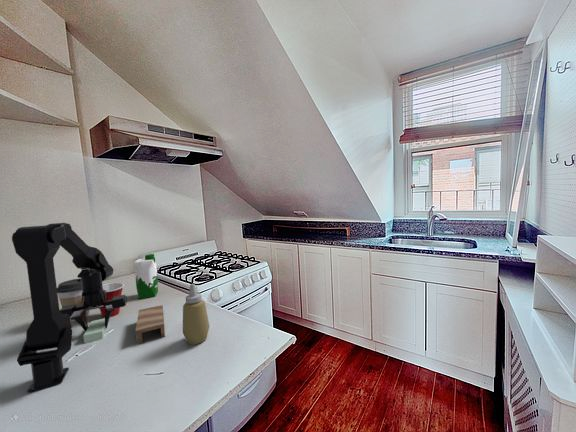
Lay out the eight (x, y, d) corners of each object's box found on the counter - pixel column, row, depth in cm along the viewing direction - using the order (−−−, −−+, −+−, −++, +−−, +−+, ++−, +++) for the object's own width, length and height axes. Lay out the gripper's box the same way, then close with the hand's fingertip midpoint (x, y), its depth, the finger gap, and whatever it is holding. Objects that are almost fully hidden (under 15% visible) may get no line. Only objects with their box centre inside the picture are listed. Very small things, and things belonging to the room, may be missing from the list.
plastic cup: (110, 321, 98) (107, 291, 97) (87, 320, 100) (84, 290, 100) (133, 309, 109) (130, 281, 108) (112, 308, 111) (109, 281, 110)
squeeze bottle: (181, 349, 76) (176, 290, 75) (185, 336, 84) (180, 282, 83) (210, 343, 78) (205, 286, 77) (210, 331, 86) (206, 278, 85)
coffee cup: (100, 314, 105) (96, 279, 104) (64, 327, 96) (60, 288, 95) (89, 309, 111) (85, 276, 110) (55, 320, 102) (50, 284, 101)
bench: (165, 336, 84) (163, 323, 84) (137, 344, 80) (135, 330, 80) (163, 316, 100) (162, 304, 100) (140, 321, 96) (139, 310, 96)
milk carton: (156, 297, 122) (153, 255, 121) (135, 300, 119) (131, 258, 118) (160, 291, 130) (156, 252, 129) (140, 294, 127) (136, 254, 126)
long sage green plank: (102, 338, 85) (102, 331, 85) (84, 343, 83) (83, 335, 83) (108, 324, 96) (108, 317, 96) (92, 328, 94) (91, 321, 93)
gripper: (126, 275, 100) (130, 314, 101) (65, 285, 91) (70, 328, 92) (123, 283, 90) (127, 326, 91) (54, 295, 81) (59, 342, 82)
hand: (97, 330), depth 89 cm, fingers closed on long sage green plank, 5 cm apart
